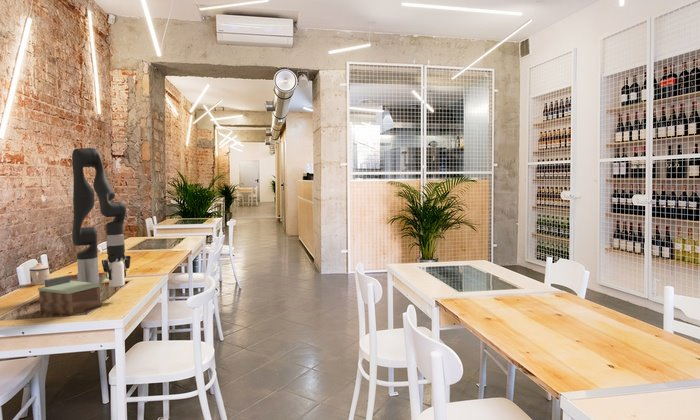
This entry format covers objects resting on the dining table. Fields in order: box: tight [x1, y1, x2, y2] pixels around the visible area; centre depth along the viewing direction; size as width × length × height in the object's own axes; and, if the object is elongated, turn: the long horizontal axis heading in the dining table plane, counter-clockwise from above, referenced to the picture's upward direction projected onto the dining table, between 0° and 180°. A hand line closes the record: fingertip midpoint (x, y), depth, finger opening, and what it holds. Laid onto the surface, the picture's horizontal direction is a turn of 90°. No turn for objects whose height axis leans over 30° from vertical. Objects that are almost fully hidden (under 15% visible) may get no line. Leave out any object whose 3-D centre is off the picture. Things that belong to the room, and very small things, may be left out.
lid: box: [37, 275, 101, 294], centre depth 197 cm, size 20×15×4 cm
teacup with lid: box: [29, 262, 50, 286], centre depth 250 cm, size 12×9×12 cm
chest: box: [38, 286, 101, 316], centre depth 198 cm, size 20×14×9 cm
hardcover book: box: [65, 272, 108, 283], centre depth 255 cm, size 12×21×4 cm, turn 108°
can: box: [108, 261, 126, 288], centre depth 210 cm, size 6×6×12 cm
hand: (117, 279), depth 210 cm, fingers closed on can, 5 cm apart
